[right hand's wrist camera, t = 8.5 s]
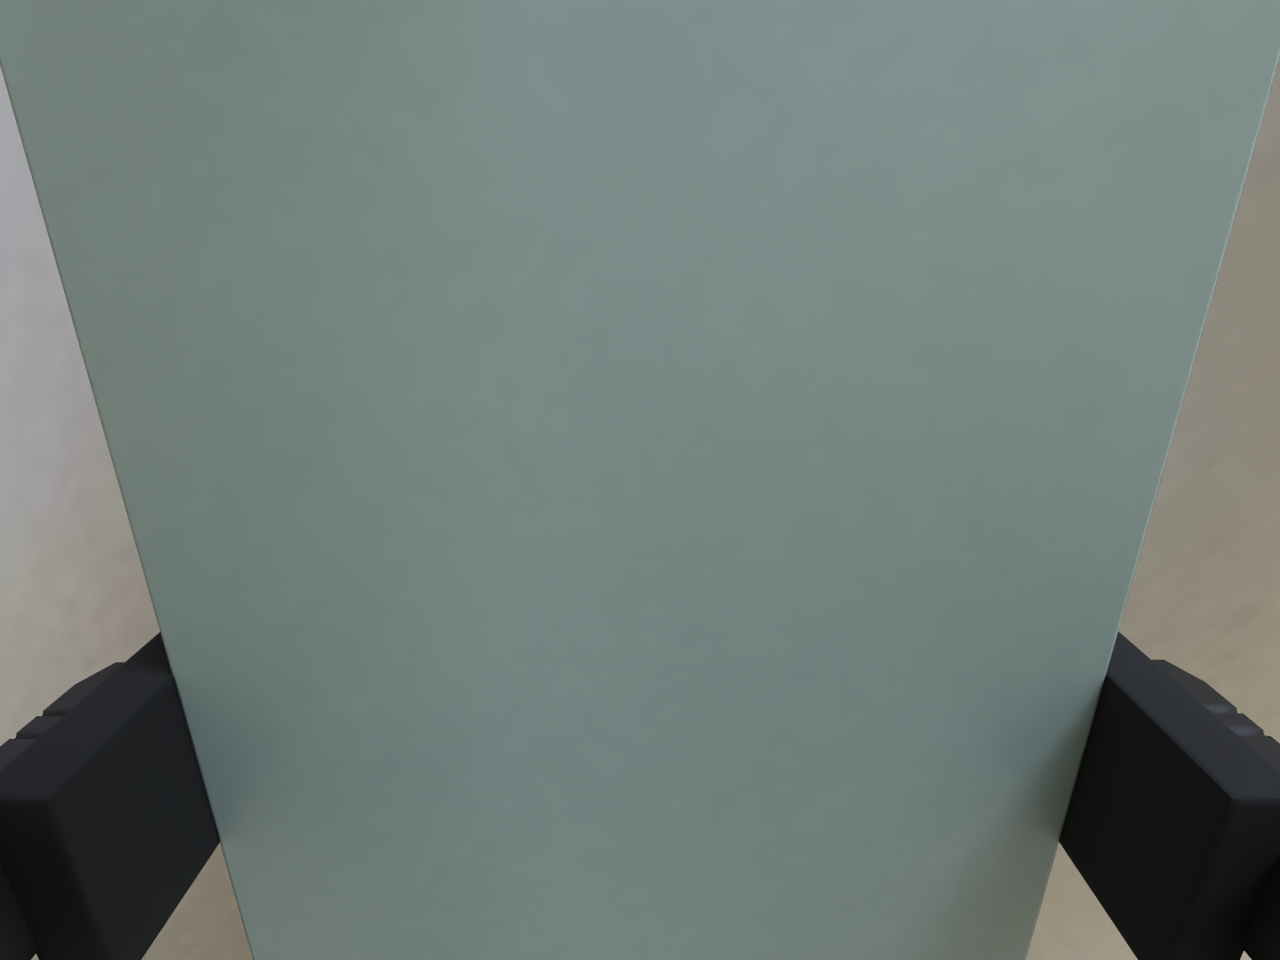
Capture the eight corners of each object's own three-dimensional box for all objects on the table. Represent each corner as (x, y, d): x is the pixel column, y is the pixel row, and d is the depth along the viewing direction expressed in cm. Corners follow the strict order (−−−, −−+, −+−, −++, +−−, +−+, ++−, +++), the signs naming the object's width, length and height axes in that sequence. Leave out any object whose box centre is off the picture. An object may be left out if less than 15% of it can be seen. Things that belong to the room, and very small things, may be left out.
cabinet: (374, -38, 15) (-189, -580, 5) (903, -38, 15) (1464, -577, 5) (448, 621, 21) (264, 1009, 11) (830, 621, 21) (1014, 1008, 11)
